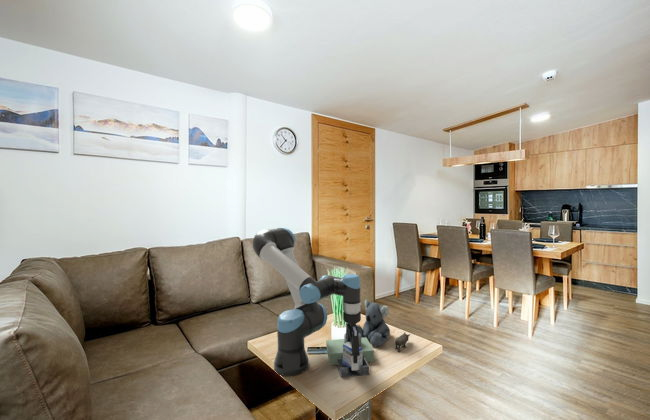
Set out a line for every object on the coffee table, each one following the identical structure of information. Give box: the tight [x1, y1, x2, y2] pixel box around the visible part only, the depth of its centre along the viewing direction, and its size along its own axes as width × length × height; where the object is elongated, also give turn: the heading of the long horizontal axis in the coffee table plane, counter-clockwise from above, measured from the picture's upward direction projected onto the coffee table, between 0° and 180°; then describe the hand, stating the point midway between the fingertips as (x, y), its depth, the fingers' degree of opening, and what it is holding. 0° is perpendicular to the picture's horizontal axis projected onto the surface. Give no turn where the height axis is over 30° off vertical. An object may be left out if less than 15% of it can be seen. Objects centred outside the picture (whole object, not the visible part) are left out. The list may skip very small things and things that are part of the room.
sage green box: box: [325, 332, 375, 366], centre depth 138 cm, size 20×13×9 cm, turn 97°
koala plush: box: [356, 299, 391, 348], centre depth 156 cm, size 17×18×20 cm
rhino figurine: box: [394, 332, 411, 353], centre depth 147 cm, size 4×14×6 cm, turn 139°
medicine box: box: [343, 342, 362, 371], centre depth 126 cm, size 8×4×9 cm, turn 40°
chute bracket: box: [336, 356, 370, 378], centre depth 126 cm, size 12×9×4 cm
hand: (352, 363), depth 126 cm, fingers closed on medicine box, 9 cm apart
